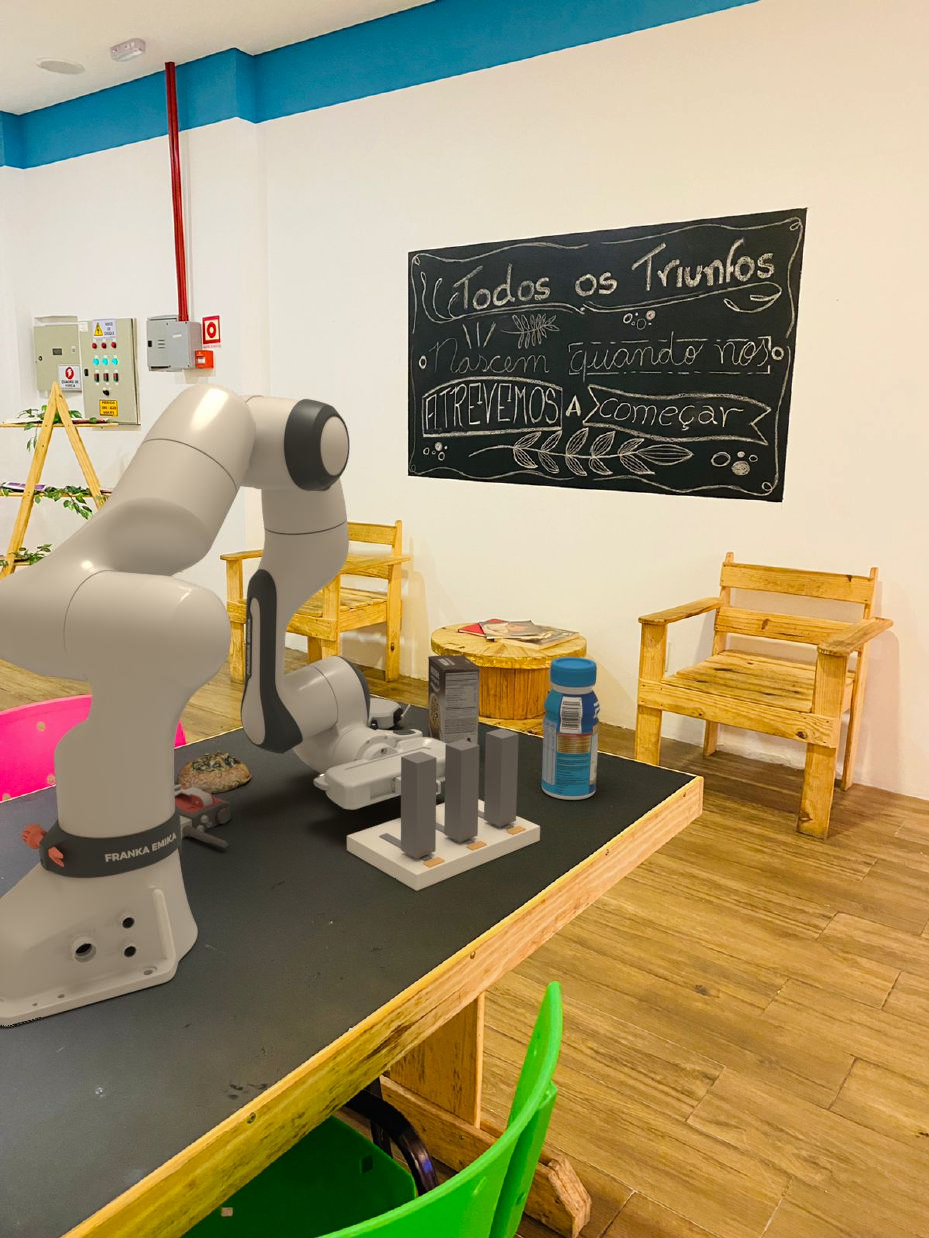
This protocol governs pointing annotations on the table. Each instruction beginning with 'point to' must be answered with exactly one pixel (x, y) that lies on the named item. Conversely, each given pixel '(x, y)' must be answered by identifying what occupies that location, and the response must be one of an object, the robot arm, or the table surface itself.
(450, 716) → the coffee box
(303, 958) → the table surface
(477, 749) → the grey rectangular pillar
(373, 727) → the robot toy
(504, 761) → the right switch
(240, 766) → the bread roll
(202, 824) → the walkie-talkie
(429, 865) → the switch bank
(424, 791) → the tall grey switch
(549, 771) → the beverage bottle
